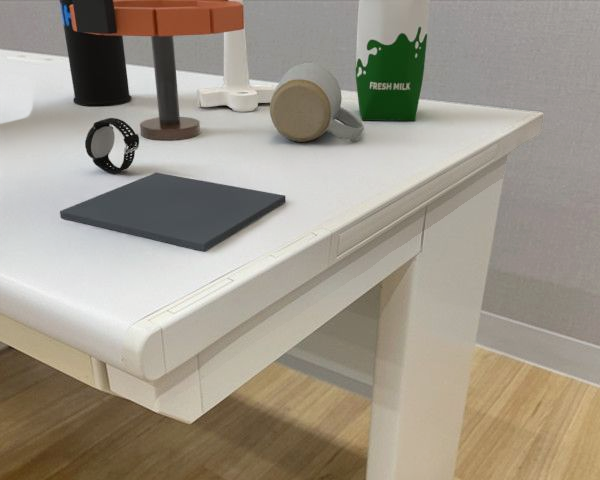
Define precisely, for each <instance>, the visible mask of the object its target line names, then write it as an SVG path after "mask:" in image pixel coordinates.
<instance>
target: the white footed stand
mask: <svg viewBox="0 0 600 480" xmlns="http://www.w3.org/2000/svg"><path fill="white" fill-rule="evenodd" d="M228 1H237V2H240V3H241V4H242V5H243V6H244V3H243V2H244V0H228ZM246 38H247V37H246V25H245V23H244V29H242V30H236V31H230V32H223V85H222V86H216V87H206V88H199V89H196V94H197V95H196V97H197V107H198V108H210V107H218V106H227V107H229V108H231V110H232V111H234V112H239V113H240V112H241V113H246V112H248V113H249V112H253V111H255V109H256V108H257V107H259V104H262V103H263V104H264V103H265V104H270V102H271V98H272V95H273V93H274V90H275V89H276V87H277V86H274V85H269V84H267V85H265V84H263V85H261V84H260V85H257V84H255V85H251V83H250V73H249V62H248V61H249V60H248V51H247V48H248V47H247V39H246Z"/></svg>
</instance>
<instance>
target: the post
mask: <svg viewBox="0 0 600 480" xmlns="http://www.w3.org/2000/svg"><path fill="white" fill-rule="evenodd" d="M150 37H151V49H152V58H153V68H154V69H153V70H154V79H155V90H156V99H157V110H158V111H157V112H158V117H154V118H149V119H146V120H143V121H141V122H140V123H139V129H140V135H141V136H142V138H146V139H150V140H155V141H179V140H184V139H185V140H186V139H190V138H194V137H196V136H199V135H200V134H201V123H200V121H199V120H198V119H196V118H193V117H188V116H181V115H180V114H181V113H180V104H179V91H178V78H177V65H176V55H175V54H176V53H175V43H174V36H158V35H157V36H150Z"/></svg>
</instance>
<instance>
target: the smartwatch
mask: <svg viewBox="0 0 600 480" xmlns="http://www.w3.org/2000/svg"><path fill="white" fill-rule="evenodd" d="M114 128H116V129H117V130H118V132H119V133H120V134H121V135H122V136H123V138H122V140H123V142H124V144H125V145H124V150H123V160H122V164H121V165H120V167H118V166H116V165H115V164H114V163H113V162H112V161H111V159H110V158H109V157H110V156H109V155H110V153H111V152H112V150H113V147H114V144H115V138H116V137H115V131H114ZM84 147H85V151H86V154H87V155H88V157H89V158H90V159H92V162H93V164H94V165H95V166H96V167H98V168H99V169H101V170H102V171H104V172H106V173H108V174H112V175H113V174H115V175H116V174H118V173H121V172H123V171H126V170H127V169H129V168H130V167H131V166H132V164H133V162H134V159H135V155H136V154H135V153H136V151H137V150H138V148H139V147H140V136H139V134H138V133H136V132H135V130H134V129H133V128H132V127H131V126H130V125H129V123H127V122H126V121H124V120H122V119H120V118H116V117H107V118H104V119H100V120H97V121H95V122H94V123H93V124H92V126H91V127H90V129H89V131H88V132H87V134H86V137H85V141H84Z"/></svg>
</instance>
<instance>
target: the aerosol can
mask: <svg viewBox="0 0 600 480" xmlns="http://www.w3.org/2000/svg"><path fill="white" fill-rule="evenodd" d="M72 4H73V1H72V0H59V6H60V12H61V18H62V23H63V24H62V25H63V31H64V37H65V43H66V48H67V49H66V50H67V56H68V63H69V69H70V74H71V81H72V88H73V94H74V98H73V99H72V101H73V103H74V104H77V105H81V106H88V107H105V106H107V107H108V106H116V105H122V104H125V103H129V102H131V100H132V96H131V95H130V88H129V79H128V71H127V63H126V62H127V61H126V55H125V54H126V53H125V46H124V37H123V36H117V35H97V34H91V33H84V32H77V31H74V30H73V26H72V20H71V13H70V5H72Z"/></svg>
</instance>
